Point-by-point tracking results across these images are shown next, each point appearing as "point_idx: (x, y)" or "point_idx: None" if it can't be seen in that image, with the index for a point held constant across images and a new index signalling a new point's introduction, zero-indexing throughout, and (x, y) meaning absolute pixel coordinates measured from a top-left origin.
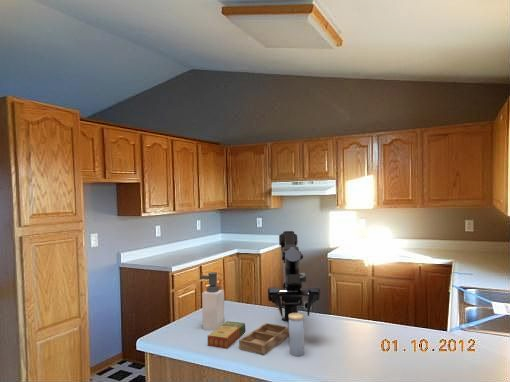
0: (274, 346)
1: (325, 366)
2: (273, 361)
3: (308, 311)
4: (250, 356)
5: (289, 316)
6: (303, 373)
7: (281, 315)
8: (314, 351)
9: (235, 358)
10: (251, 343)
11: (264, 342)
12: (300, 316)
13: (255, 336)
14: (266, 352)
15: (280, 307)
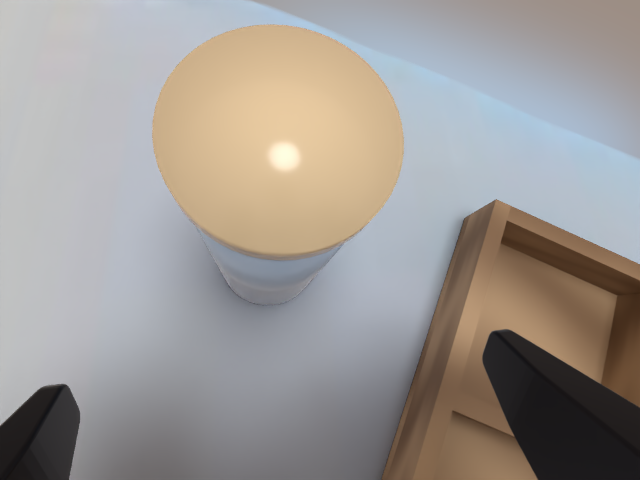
0: (425, 344)
1: (96, 93)
2: None
3: (20, 427)
4: (532, 198)
5: (380, 79)
6: (231, 25)
7: (501, 335)
8: (142, 294)
9: (598, 171)
10: (582, 239)
11: None
12: (206, 74)
13: None
14: (458, 242)
15: (613, 410)
